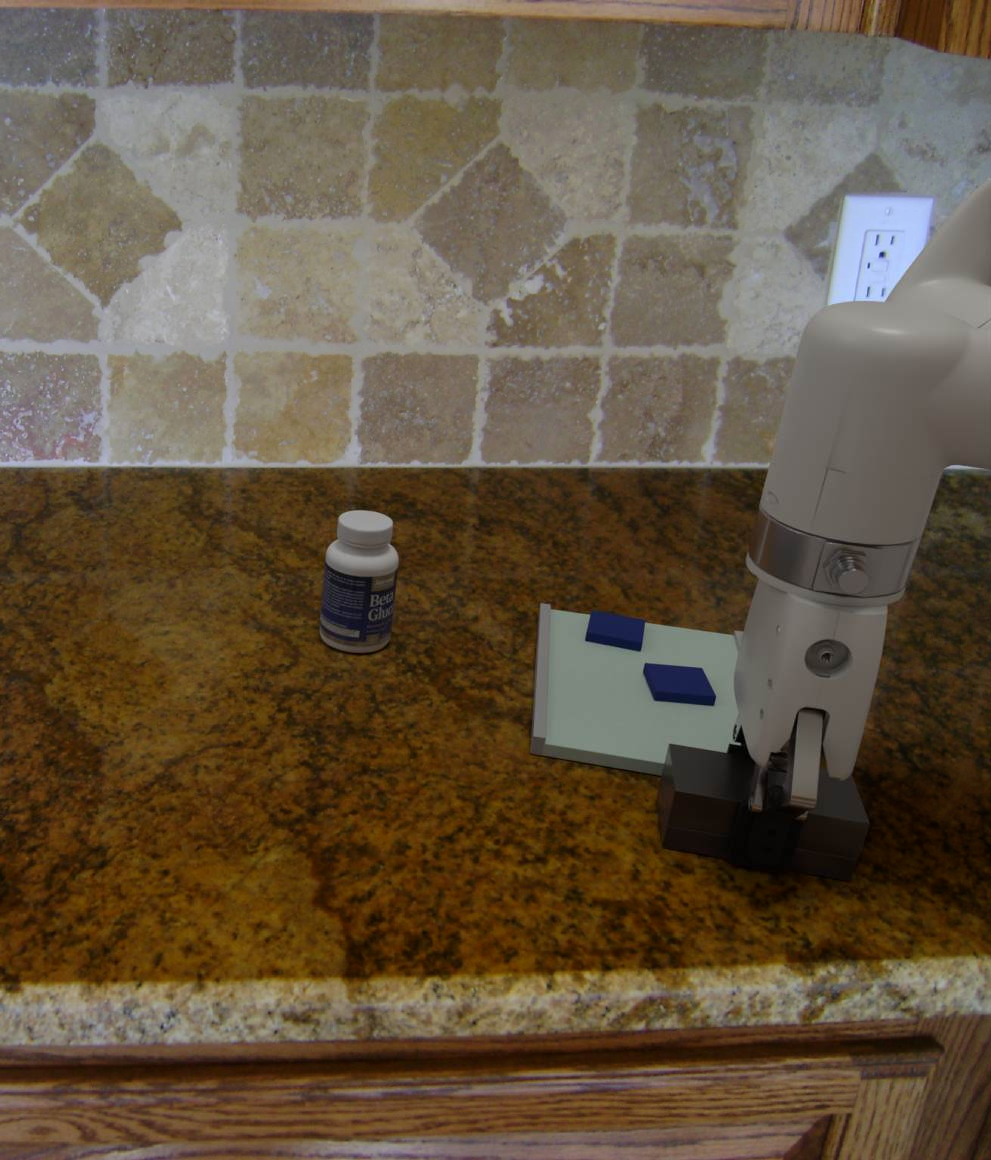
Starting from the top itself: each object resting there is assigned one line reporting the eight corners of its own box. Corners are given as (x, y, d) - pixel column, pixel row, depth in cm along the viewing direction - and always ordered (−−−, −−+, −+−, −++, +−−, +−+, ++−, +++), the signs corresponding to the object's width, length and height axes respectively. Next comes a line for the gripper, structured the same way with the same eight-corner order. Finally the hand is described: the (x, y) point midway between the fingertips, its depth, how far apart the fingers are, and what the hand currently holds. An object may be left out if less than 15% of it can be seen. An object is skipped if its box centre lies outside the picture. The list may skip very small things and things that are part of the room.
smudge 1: (643, 628, 89) (645, 619, 89) (640, 652, 86) (642, 642, 86) (589, 618, 91) (591, 609, 90) (584, 641, 87) (586, 631, 87)
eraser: (833, 828, 69) (851, 772, 67) (850, 882, 65) (870, 824, 63) (656, 797, 71) (668, 742, 70) (661, 847, 67) (675, 790, 65)
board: (741, 647, 89) (745, 631, 89) (783, 797, 72) (788, 778, 71) (537, 618, 93) (540, 602, 92) (530, 753, 75) (533, 735, 75)
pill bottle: (374, 662, 85) (386, 540, 81) (307, 643, 88) (316, 524, 83) (400, 632, 90) (413, 515, 85) (336, 615, 92) (346, 500, 88)
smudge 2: (700, 677, 83) (702, 667, 83) (714, 706, 79) (716, 696, 79) (642, 672, 83) (644, 662, 83) (654, 700, 80) (656, 690, 79)
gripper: (958, 635, 52) (850, 948, 60) (872, 501, 67) (794, 766, 74) (777, 610, 53) (694, 918, 61) (732, 485, 68) (670, 745, 76)
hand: (750, 832), depth 68 cm, fingers closed on eraser, 5 cm apart
